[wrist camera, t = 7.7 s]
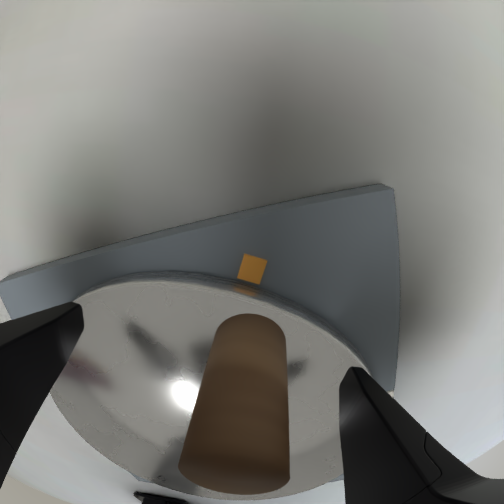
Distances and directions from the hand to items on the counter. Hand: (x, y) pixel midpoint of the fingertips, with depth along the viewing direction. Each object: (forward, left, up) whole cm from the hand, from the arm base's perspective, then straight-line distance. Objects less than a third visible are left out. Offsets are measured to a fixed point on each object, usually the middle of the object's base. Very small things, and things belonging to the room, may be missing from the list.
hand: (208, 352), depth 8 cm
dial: (-7, +3, -2) cm, 8 cm away
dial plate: (-7, +3, -4) cm, 8 cm away
